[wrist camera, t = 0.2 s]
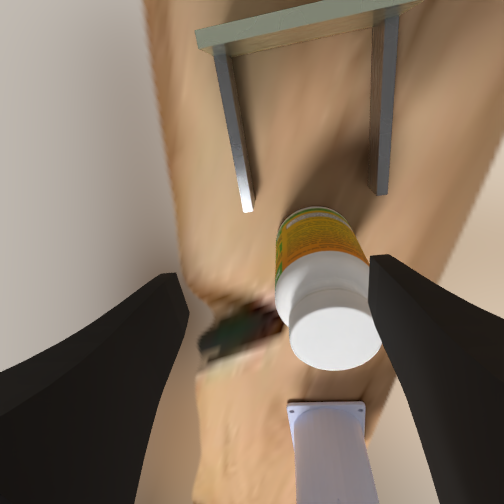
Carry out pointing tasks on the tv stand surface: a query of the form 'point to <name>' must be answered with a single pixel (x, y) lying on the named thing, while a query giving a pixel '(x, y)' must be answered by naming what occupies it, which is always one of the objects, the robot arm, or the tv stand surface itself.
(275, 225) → the tv stand surface
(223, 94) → the seating bay
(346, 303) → the supplement bottle
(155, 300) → the robot arm
